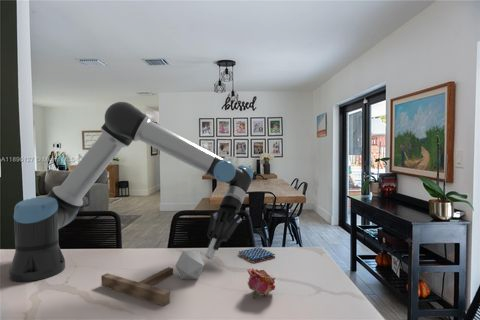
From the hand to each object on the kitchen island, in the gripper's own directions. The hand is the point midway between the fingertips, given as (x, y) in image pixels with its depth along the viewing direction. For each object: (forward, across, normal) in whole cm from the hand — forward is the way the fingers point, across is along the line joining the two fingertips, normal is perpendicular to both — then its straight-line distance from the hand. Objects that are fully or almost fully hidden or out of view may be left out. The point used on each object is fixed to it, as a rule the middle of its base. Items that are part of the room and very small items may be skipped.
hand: (208, 257), depth 103 cm
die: (+9, 0, +5) cm, 10 cm away
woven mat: (-9, -10, -14) cm, 20 cm away
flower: (+9, -24, +5) cm, 26 cm away
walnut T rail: (+15, +7, +11) cm, 20 cm away
